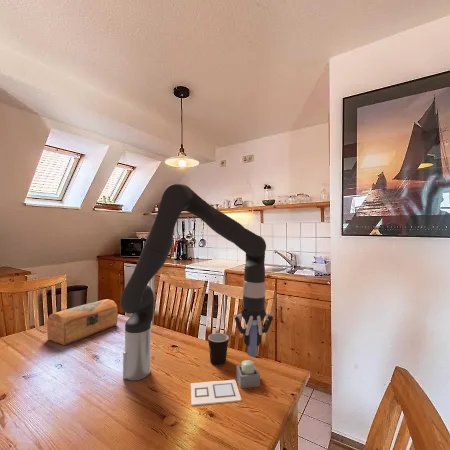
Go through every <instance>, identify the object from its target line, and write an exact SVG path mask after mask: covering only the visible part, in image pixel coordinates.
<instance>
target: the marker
mask: <svg viewBox="0 0 450 450" xmlns="http://www.w3.org/2000/svg"><path fill="white" fill-rule="evenodd" d="M257 340H258V324H257V320H252V324H251V328H250V331H249V346H247V356H249V357H257V355H258V346H257Z"/></svg>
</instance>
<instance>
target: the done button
mask: <svg viewBox="0 0 450 450" xmlns="http://www.w3.org/2000/svg"><path fill="white" fill-rule="evenodd" d="M254 364H255V362H254V361H253V360H249V359H246V360H242V361H241V365H242V375H250V374H254Z"/></svg>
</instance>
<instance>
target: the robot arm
mask: <svg viewBox="0 0 450 450" xmlns="http://www.w3.org/2000/svg"><path fill="white" fill-rule="evenodd" d="M183 211H185V212H187V213H189V214H192V215H194V216H195V217H197V218H198V219H200V220H201V221H203V222H204V223H205V224H206V225H207V226H208V227H209V228H210V229H211V230H212V231H213V232H215V233H216V234H218V235H219V236H221V237H222V238H224V239H225V240H227V241H228V242H230V243H233V244H234V245H235V246H236V247H238V249H240V250H241V251H243V252H244V253H245V265H244V272H243V273H244V274H243V277H244V278H243V286H242V309H241V312H240V313H238V314H234V315H233V319H234V322H235V324H236V328H237V329H238V331H239V333H240V334H241V335H242V334H243V343H244V345H245V346H246V347H248V346H249V331H250V328H251V324H252V320H257V324H258V340H257V347H259V346H261V344H262V338H263V337H262V335H263V334H267V333H268V331H269V329H270V326H271V324H272V321H273V320H274V316H273V315H271V314H270V313H267V312H266V268H265V261H266V260H265V257H266V250H267V244H266V243H267V242H266V240H265V239H264V238H263V237H262V236H260V235H258V234H256V233H255V232H253V231H251V230H249V229H248V228H246V227H244V225H242V224H241V223H239V222H238V221H236V220H235V219H233V218H232V217H230V216H228V215H227V214H225V213H223V212H222V211H220V210H219V209H217V208H215V207H214V206H212V204H210V203H208V202H206V201H205V200H204V199H203V198H202V197H201V196H199V195H198V194H197V193H196V192H195V191H194V190H193V189H192V188H191V187H189V186H188V185H186V184H182V183H172V184H170V185H168V186H167V187H166V188H165V189H164V191H163V193H162V195H161V199H160V202H159V206H158V210H157V213H156V216H155V219H154V220H153V221H154V222H153V223H152V226H151V228H150V231H149V234H148V236H147V238H146V240H145V241H144V242H145V243H144V245H143V247H142V249H141V253H140V255H139V258H138V259H137V260H138V261H137V263H136V265H135V268H134V270H133V272H132V274H131V276H130V279H129V280H128V282H127V283H126V285H125V287H124V289H123V292H122V294H121V297H120V307H121V309H122V311H123V312H124V313H125V314H130V315H131V316H130V317H129V318H128V319H127V320H126V321H125V323H124V324H125V325H124V333H125V334H124V351H123V353H122V355H123V356H122V357H123V359H122V379H123V380H128V381H133V382H134V381H139V380H140V381H141V380H144V379H145V378H146V377H148V376H149V375H150V373H151V337H152V336H151V328H152V324H151V323H152V321H153V318H154V305H155V303H154V302H155V296H154V292H153V289H152V288H151V287H150V286H149V285H148V284H149V283H150V281H151V280H152V279H153V277H155V275H156V274H157V273H158V272H159V271H160V270H161V268H162V267H163V266H164V265H165V263H166V261H167V259H168V256H169V254H170V252H171V250H172V246H173V242H174V241H173V240H174V230H175V226H176V224H177V222H178V219H179V217H180V215H181V213H182V212H183ZM242 319H244V321H245V322H244V326H243V327H244V328H243V327H242V323H241V321H242ZM263 320H264V322H263ZM262 322H263V324H262Z"/></svg>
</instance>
